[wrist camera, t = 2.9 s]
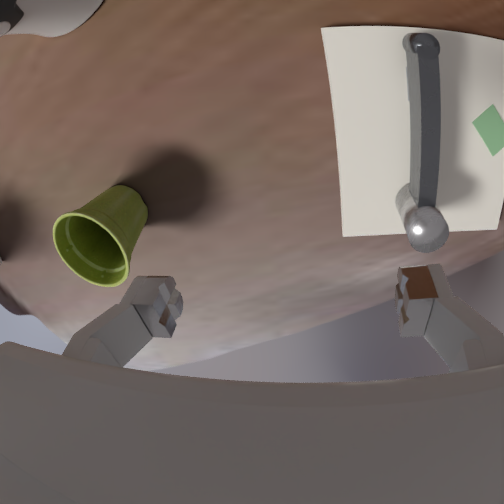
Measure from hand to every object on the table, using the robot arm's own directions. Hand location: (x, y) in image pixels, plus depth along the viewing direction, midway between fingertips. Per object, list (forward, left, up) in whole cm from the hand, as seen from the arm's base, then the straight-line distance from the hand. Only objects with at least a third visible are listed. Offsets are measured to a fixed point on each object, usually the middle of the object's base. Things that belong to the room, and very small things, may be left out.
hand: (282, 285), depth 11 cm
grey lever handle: (+1, +10, -18) cm, 21 cm away
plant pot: (+6, -21, -21) cm, 30 cm away
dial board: (+1, +12, -20) cm, 24 cm away
